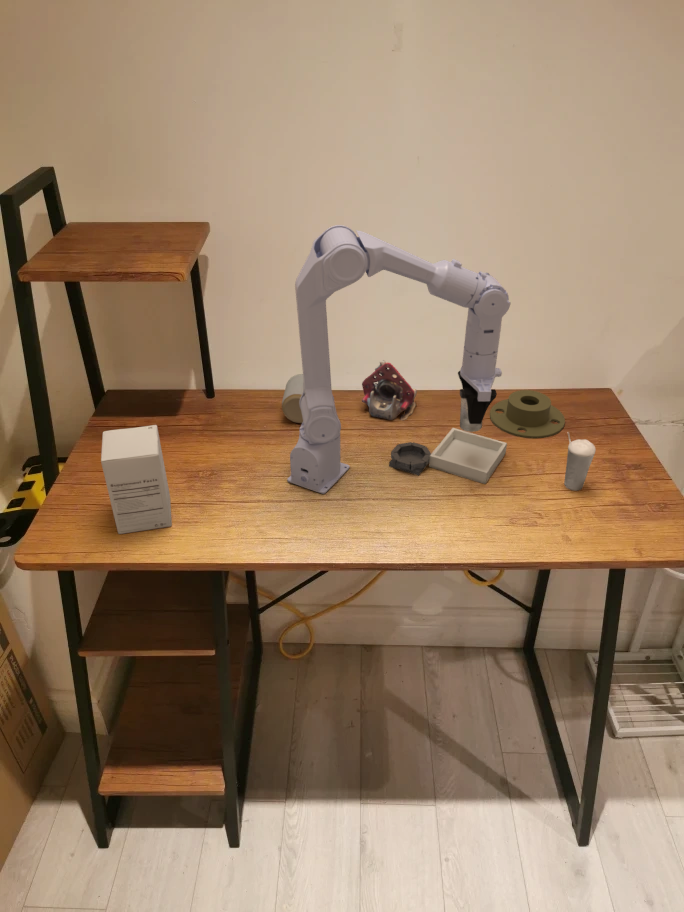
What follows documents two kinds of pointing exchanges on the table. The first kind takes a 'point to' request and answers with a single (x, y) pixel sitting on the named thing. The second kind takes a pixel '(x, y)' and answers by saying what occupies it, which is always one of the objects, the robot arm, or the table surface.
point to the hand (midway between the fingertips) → (472, 416)
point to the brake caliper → (388, 393)
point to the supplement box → (136, 479)
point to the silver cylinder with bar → (466, 416)
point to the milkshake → (578, 463)
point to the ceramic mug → (293, 398)
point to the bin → (468, 455)
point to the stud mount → (410, 457)
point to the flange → (527, 415)
